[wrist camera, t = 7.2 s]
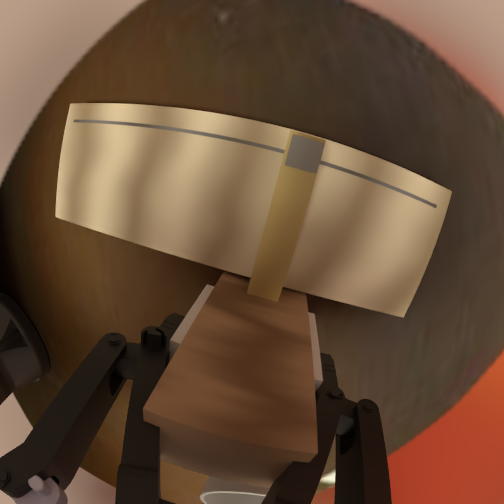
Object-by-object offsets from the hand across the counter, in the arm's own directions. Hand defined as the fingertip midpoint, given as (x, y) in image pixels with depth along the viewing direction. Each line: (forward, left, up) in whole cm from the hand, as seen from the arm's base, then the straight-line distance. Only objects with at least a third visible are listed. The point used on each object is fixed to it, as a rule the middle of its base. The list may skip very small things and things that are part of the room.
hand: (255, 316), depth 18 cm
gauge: (0, +5, -3) cm, 6 cm away
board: (-4, +7, -3) cm, 9 cm away
